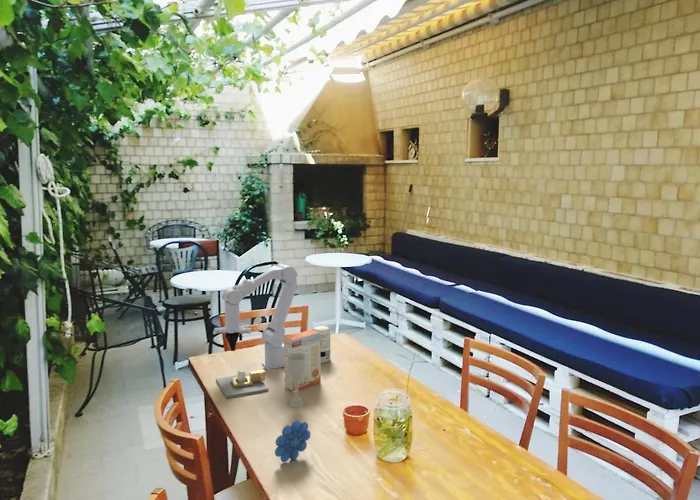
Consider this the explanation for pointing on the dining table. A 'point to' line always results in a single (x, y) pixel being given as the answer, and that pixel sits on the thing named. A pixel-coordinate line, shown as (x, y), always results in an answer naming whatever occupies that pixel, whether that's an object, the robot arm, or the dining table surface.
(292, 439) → the grapes
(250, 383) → the yellow frame with handle
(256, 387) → the post board
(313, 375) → the cracker box
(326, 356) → the supplement can
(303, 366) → the chalice
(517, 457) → the dining table surface
